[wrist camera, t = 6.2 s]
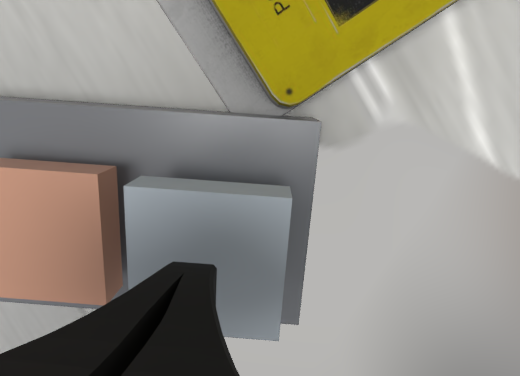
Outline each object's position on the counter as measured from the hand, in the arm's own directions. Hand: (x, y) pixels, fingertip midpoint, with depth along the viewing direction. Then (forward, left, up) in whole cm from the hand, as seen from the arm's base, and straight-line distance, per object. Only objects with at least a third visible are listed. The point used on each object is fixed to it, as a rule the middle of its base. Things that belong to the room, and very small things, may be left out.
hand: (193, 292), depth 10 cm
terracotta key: (0, +7, -7) cm, 10 cm away
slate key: (0, 0, -6) cm, 6 cm away
